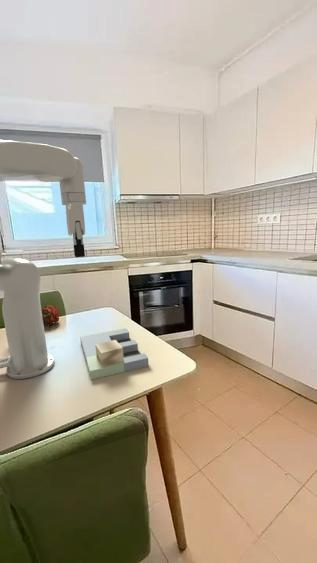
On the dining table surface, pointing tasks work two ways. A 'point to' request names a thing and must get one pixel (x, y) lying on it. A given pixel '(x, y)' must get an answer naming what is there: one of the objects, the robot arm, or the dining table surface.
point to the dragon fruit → (50, 314)
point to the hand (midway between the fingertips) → (79, 256)
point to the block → (109, 353)
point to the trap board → (130, 363)
